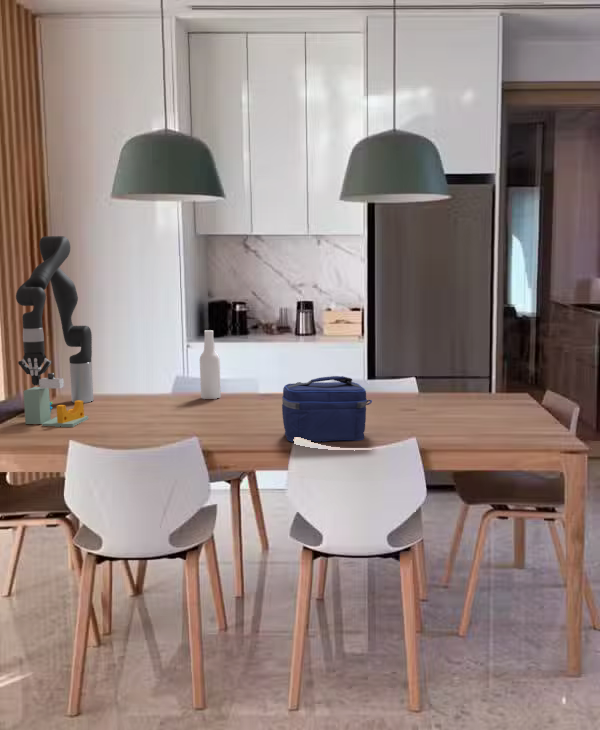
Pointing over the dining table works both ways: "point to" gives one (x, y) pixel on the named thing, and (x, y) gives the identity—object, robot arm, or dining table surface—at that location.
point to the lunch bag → (324, 410)
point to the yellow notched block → (70, 412)
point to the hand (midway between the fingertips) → (36, 385)
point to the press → (42, 409)
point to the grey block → (51, 382)
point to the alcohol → (210, 369)
